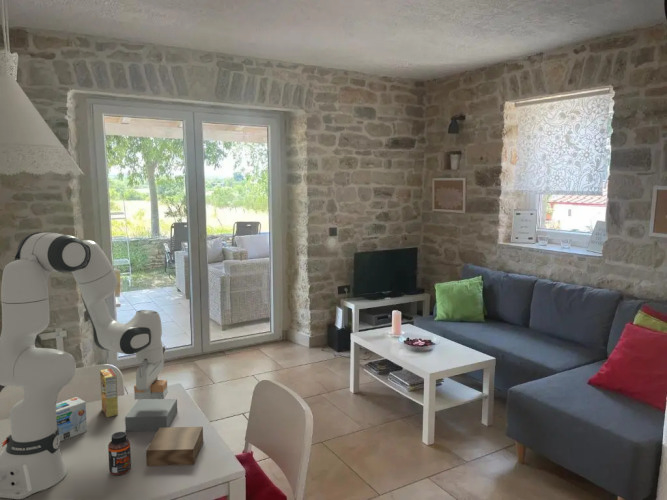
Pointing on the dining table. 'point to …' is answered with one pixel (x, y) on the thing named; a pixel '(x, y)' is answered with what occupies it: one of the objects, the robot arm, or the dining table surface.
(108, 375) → the candy box
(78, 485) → the dining table surface
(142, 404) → the stand
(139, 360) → the robot arm
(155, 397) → the housing base
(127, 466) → the supplement bottle
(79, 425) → the light bulb box
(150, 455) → the stand
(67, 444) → the dining table surface
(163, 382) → the cover
